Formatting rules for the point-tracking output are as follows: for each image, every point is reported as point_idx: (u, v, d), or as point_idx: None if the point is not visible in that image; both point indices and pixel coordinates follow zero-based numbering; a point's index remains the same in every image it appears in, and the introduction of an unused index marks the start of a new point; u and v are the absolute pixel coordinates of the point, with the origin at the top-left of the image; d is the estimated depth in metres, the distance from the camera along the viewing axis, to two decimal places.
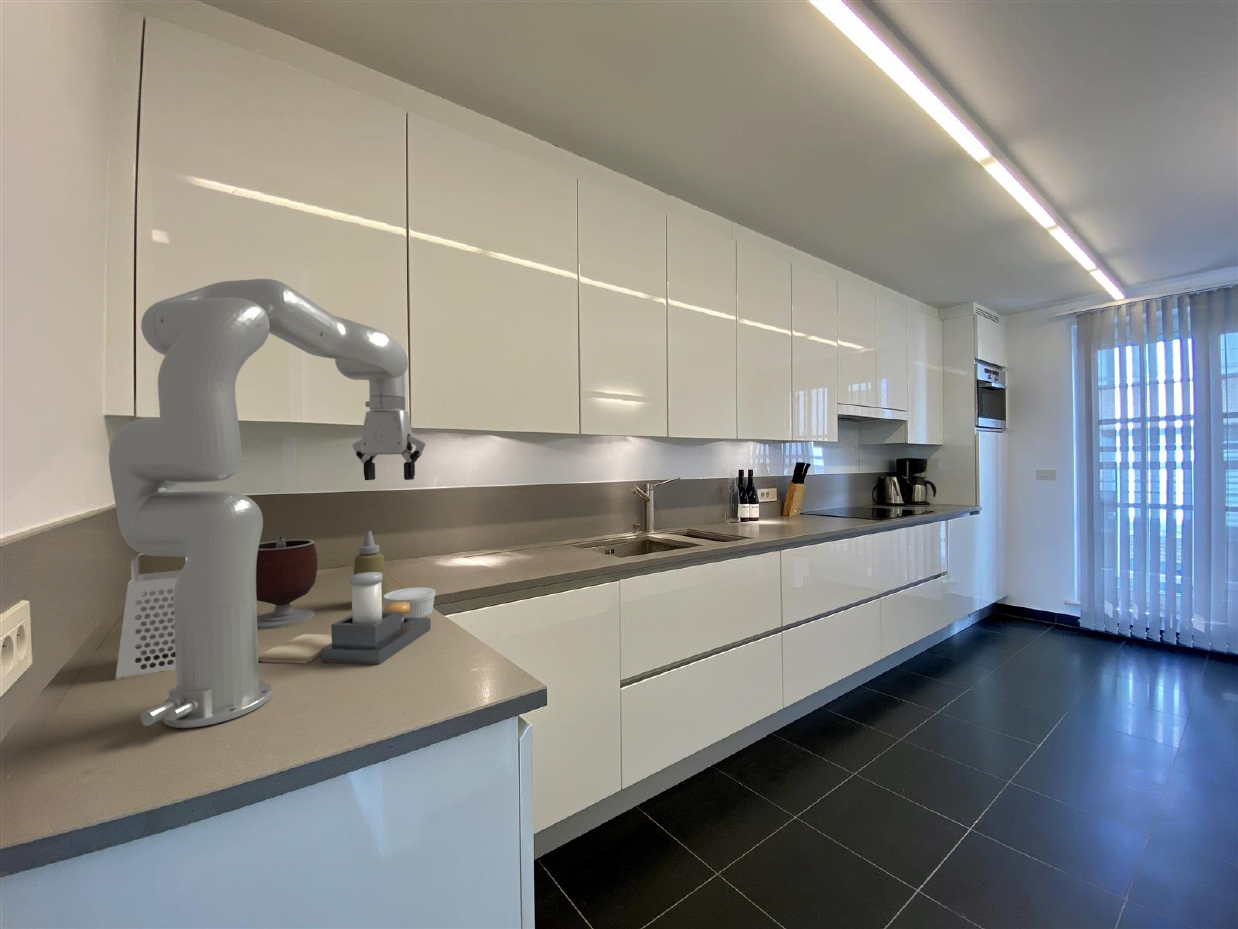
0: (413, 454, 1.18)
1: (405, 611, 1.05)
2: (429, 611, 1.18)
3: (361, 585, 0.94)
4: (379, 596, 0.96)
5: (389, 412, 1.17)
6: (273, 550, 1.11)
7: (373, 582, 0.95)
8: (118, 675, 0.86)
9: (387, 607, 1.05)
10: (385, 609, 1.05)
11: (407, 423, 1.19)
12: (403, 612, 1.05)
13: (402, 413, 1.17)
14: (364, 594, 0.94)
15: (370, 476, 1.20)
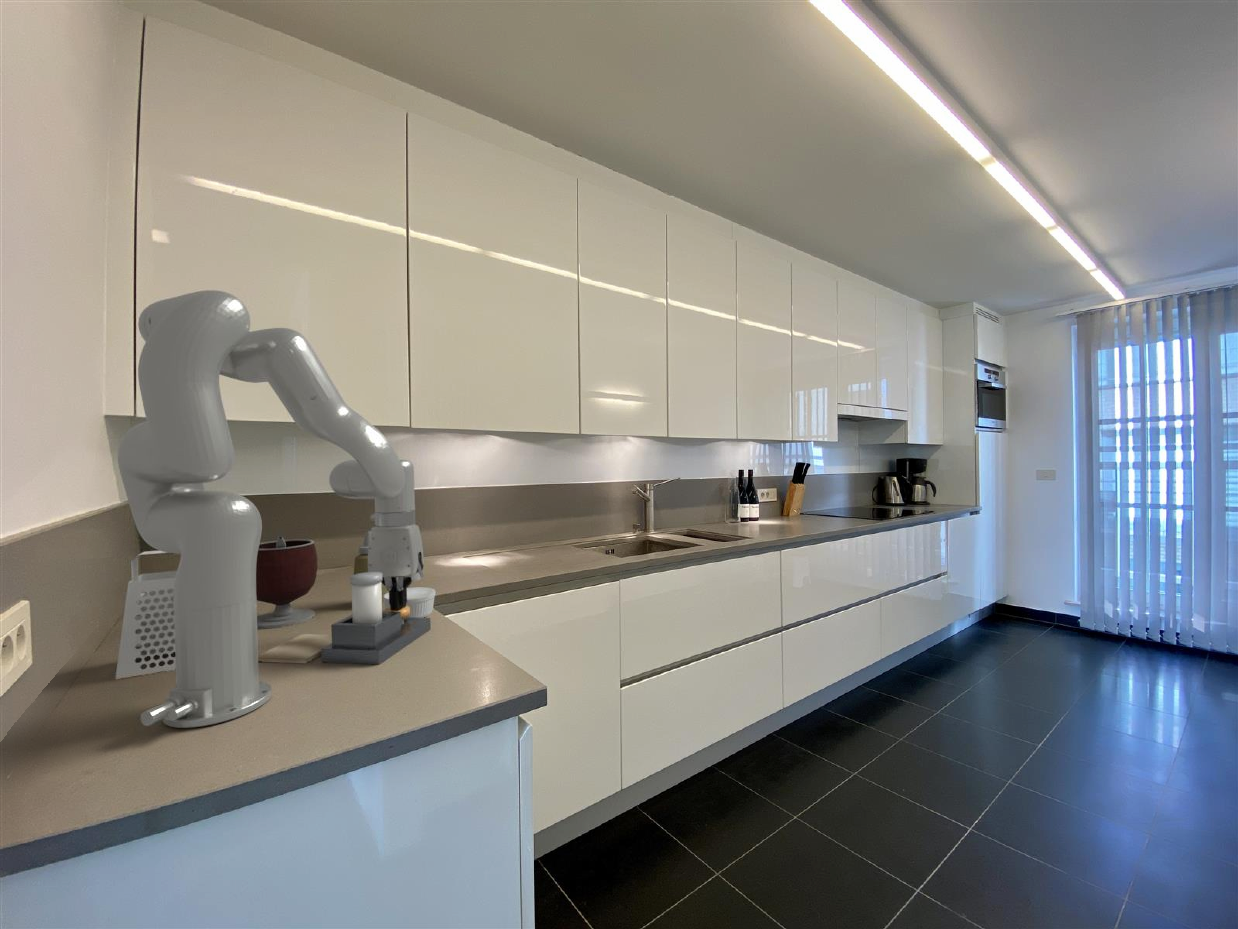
0: (405, 581, 1.05)
1: (405, 615, 1.05)
2: (429, 611, 1.18)
3: (361, 585, 0.94)
4: (379, 596, 0.96)
5: (397, 530, 1.03)
6: (273, 550, 1.11)
7: (373, 582, 0.95)
8: (118, 675, 0.86)
9: None
10: None
11: (418, 540, 1.05)
12: (403, 616, 1.05)
13: (412, 530, 1.04)
14: (364, 594, 0.94)
15: None
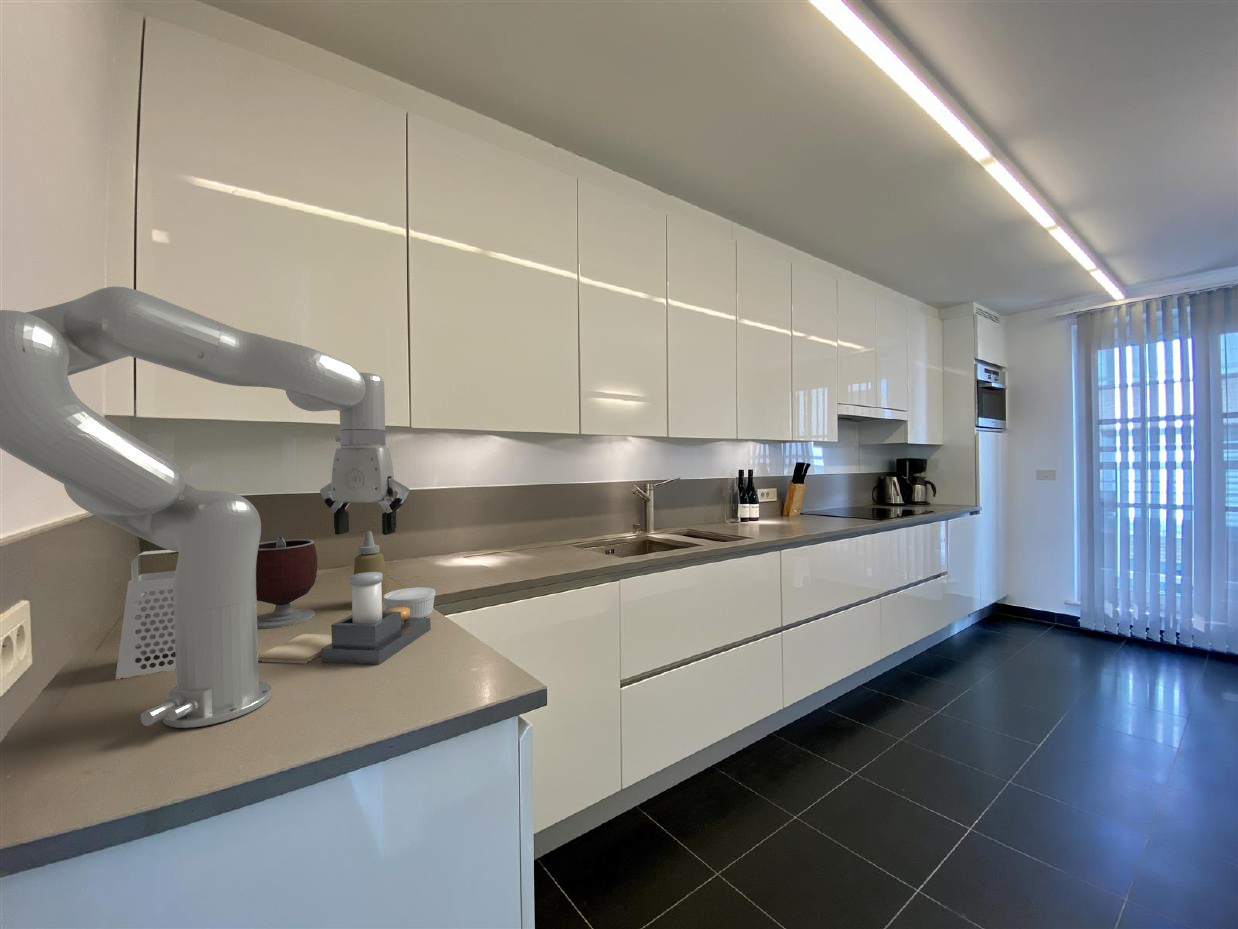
0: (394, 502, 0.94)
1: (405, 616, 1.05)
2: (429, 611, 1.18)
3: (361, 585, 0.94)
4: (379, 596, 0.96)
5: (364, 450, 0.93)
6: (273, 550, 1.11)
7: (373, 582, 0.95)
8: (118, 675, 0.86)
9: None
10: None
11: (387, 463, 0.95)
12: (403, 617, 1.05)
13: (381, 451, 0.94)
14: (364, 594, 0.94)
15: (342, 529, 0.96)
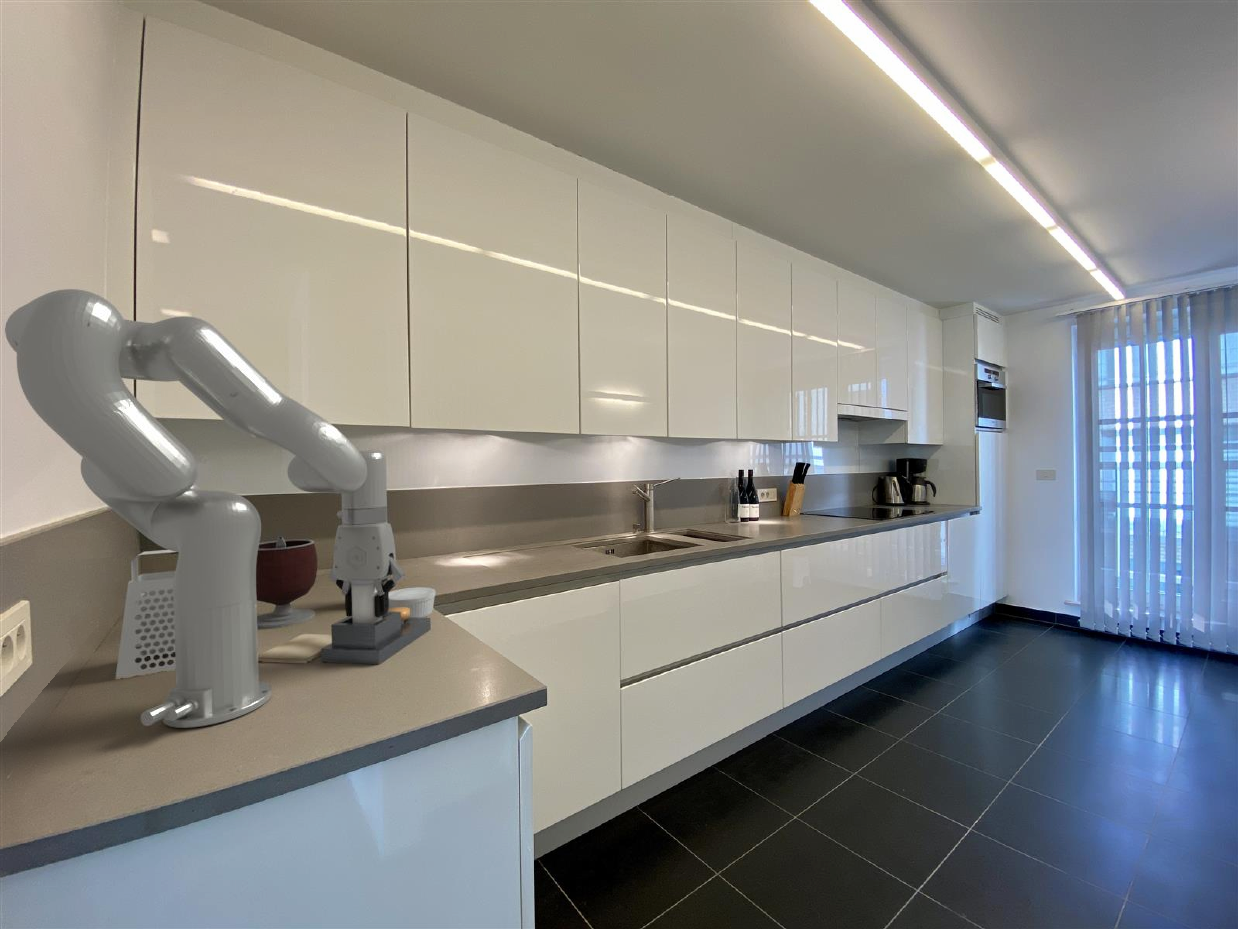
0: (386, 585, 0.95)
1: (405, 616, 1.05)
2: (429, 611, 1.18)
3: (361, 585, 0.94)
4: None
5: (366, 528, 0.93)
6: (273, 550, 1.11)
7: (373, 582, 0.95)
8: (118, 675, 0.86)
9: None
10: None
11: (389, 540, 0.95)
12: (403, 617, 1.05)
13: (382, 529, 0.94)
14: (364, 594, 0.94)
15: None
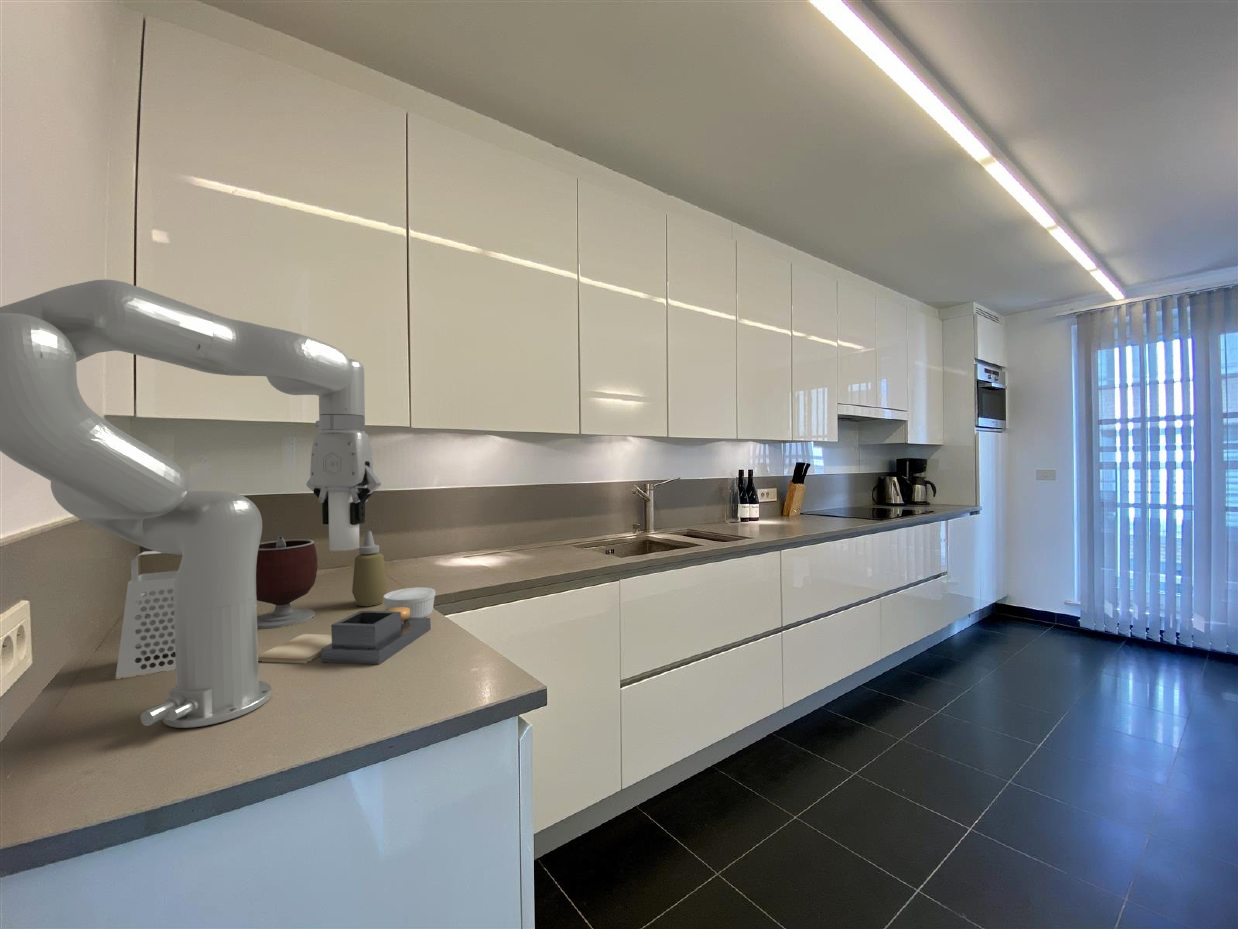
0: (362, 493, 0.95)
1: (405, 616, 1.05)
2: (429, 611, 1.18)
3: (337, 491, 0.94)
4: None
5: (342, 434, 0.93)
6: (273, 550, 1.11)
7: (349, 489, 0.95)
8: (118, 675, 0.86)
9: None
10: None
11: (365, 448, 0.95)
12: (403, 617, 1.05)
13: (358, 436, 0.94)
14: (339, 500, 0.94)
15: None
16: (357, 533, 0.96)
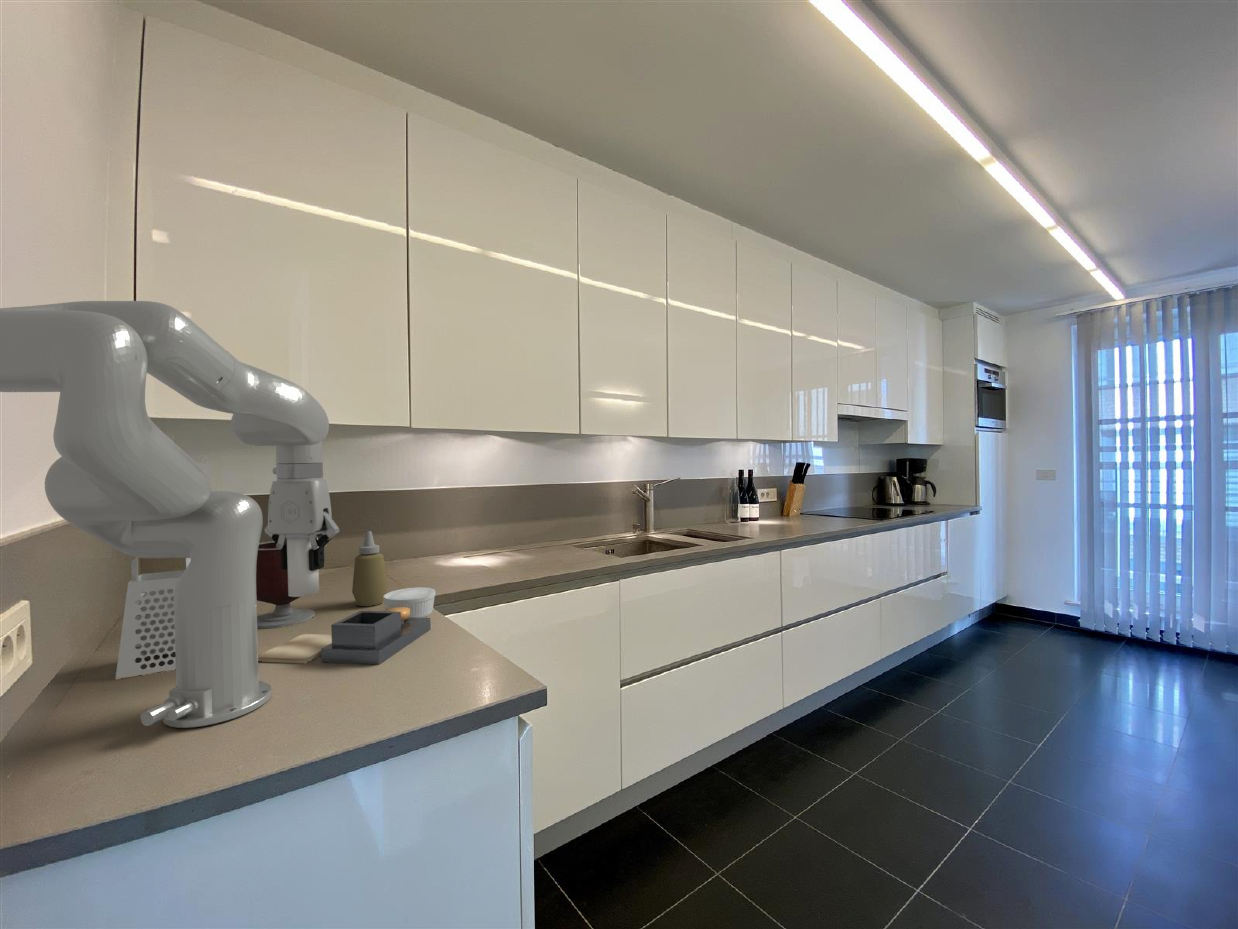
0: (320, 539, 0.97)
1: (405, 616, 1.05)
2: (429, 611, 1.18)
3: (295, 539, 0.95)
4: None
5: (299, 483, 0.95)
6: (273, 550, 1.11)
7: None
8: (118, 675, 0.86)
9: None
10: None
11: (323, 495, 0.97)
12: (403, 617, 1.05)
13: (316, 484, 0.96)
14: (298, 547, 0.96)
15: None
16: (316, 578, 0.98)
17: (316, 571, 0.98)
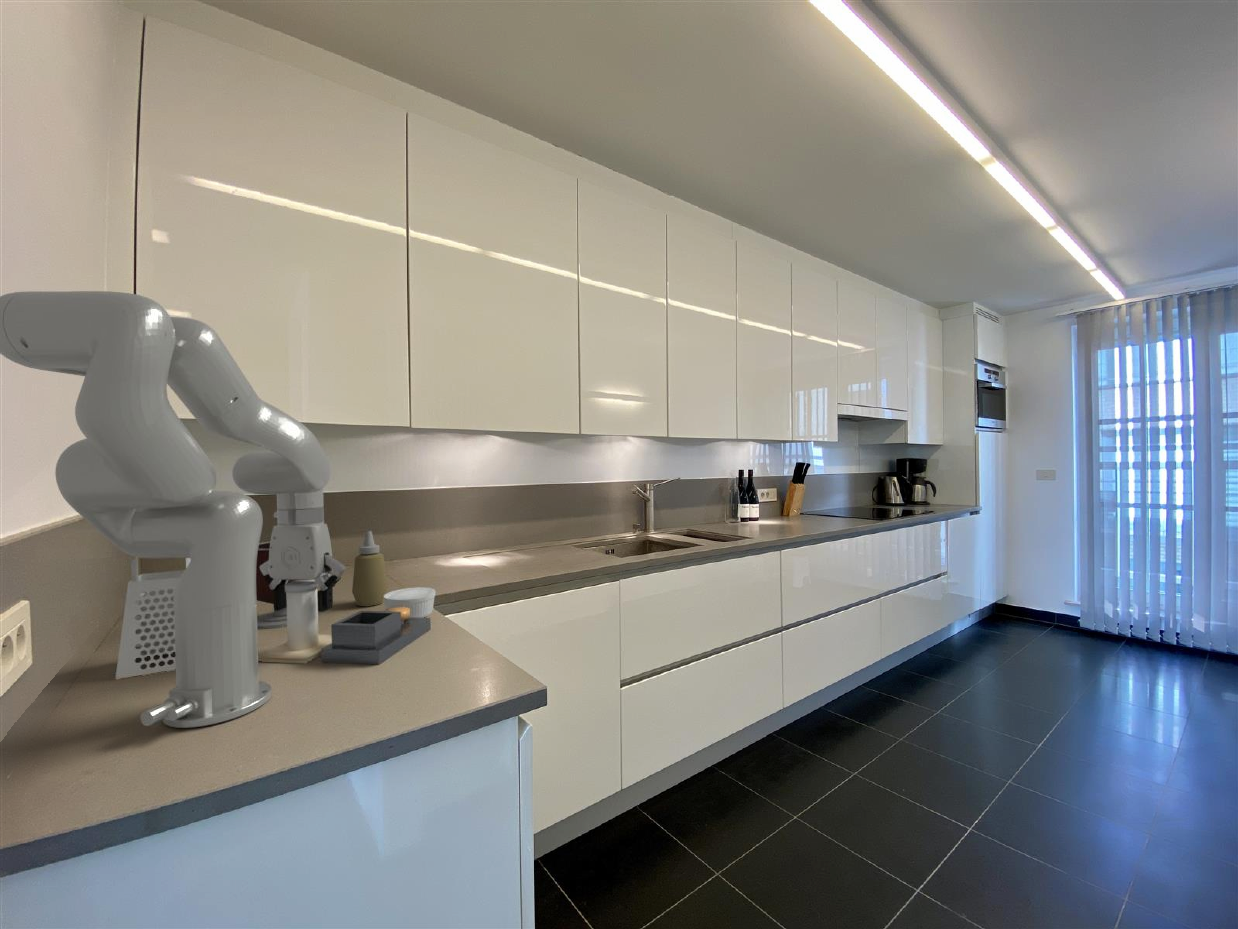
0: (329, 580, 0.96)
1: (405, 616, 1.05)
2: (429, 611, 1.18)
3: (294, 592, 0.95)
4: (314, 603, 0.98)
5: (300, 529, 0.95)
6: None
7: (307, 589, 0.96)
8: (118, 675, 0.86)
9: None
10: None
11: (324, 540, 0.97)
12: (403, 617, 1.05)
13: (317, 529, 0.96)
14: (297, 601, 0.96)
15: (282, 605, 0.98)
16: (316, 630, 0.98)
17: (315, 624, 0.98)
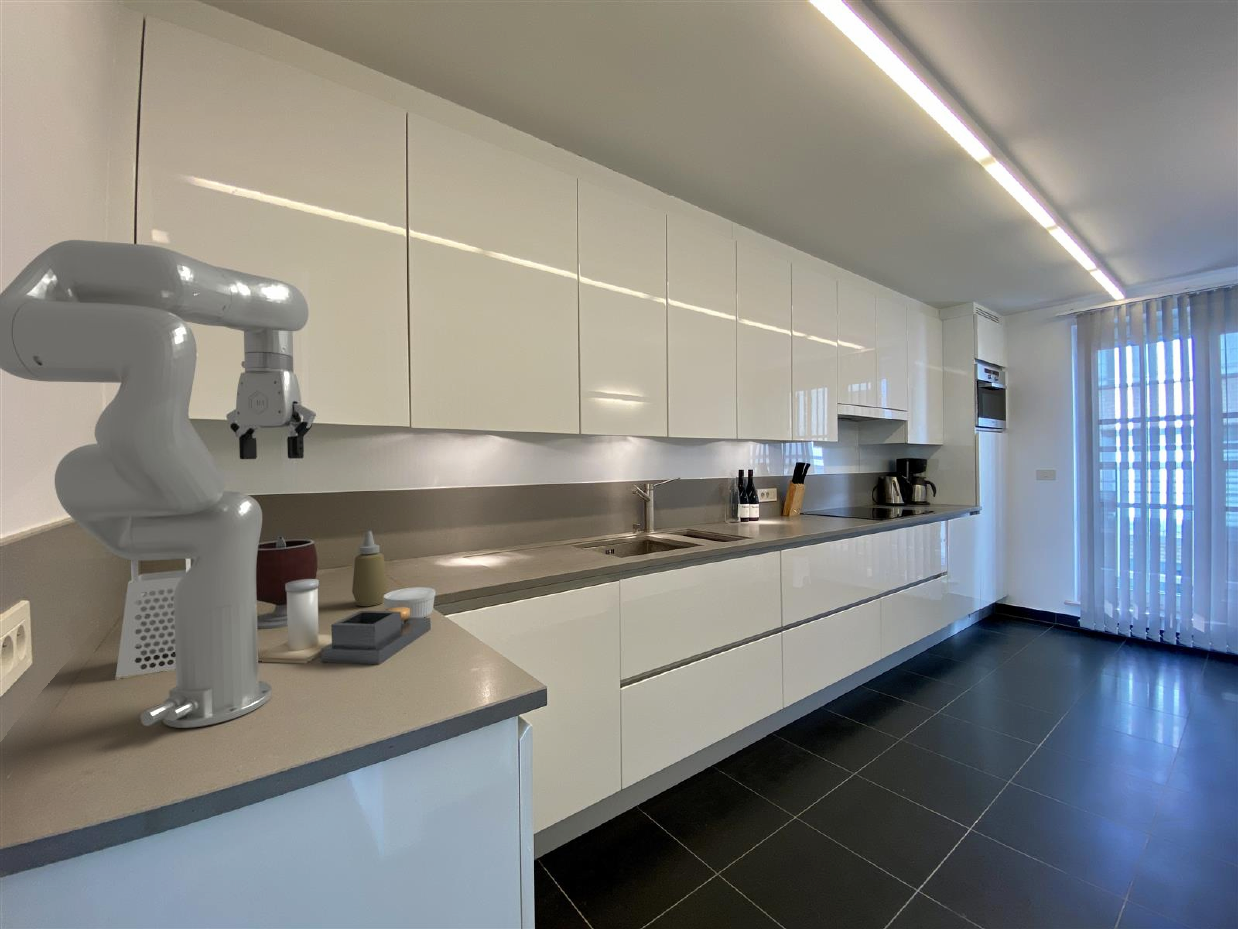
0: (299, 426, 0.94)
1: (405, 616, 1.05)
2: (429, 611, 1.18)
3: (295, 592, 0.96)
4: (314, 603, 0.98)
5: (268, 373, 0.93)
6: (273, 550, 1.11)
7: (307, 589, 0.96)
8: (118, 675, 0.86)
9: None
10: None
11: (293, 388, 0.95)
12: (403, 617, 1.05)
13: (285, 375, 0.94)
14: (297, 600, 0.96)
15: (248, 454, 0.96)
16: (316, 630, 0.98)
17: (315, 623, 0.98)
